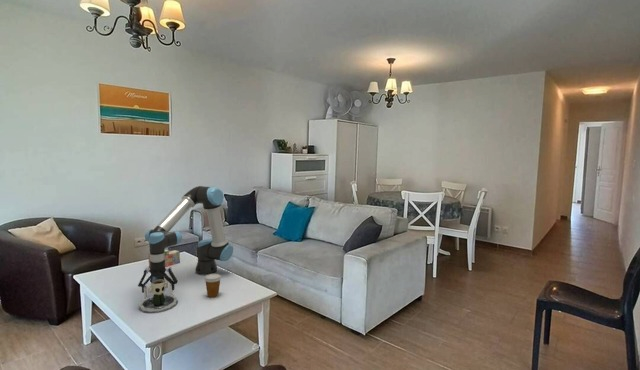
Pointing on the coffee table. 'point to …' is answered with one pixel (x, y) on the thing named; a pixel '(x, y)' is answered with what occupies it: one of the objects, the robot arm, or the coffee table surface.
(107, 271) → the coffee table surface
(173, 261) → the stack of blocks
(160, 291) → the character mug
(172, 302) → the silver metal tray
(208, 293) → the disposable coffee cup
